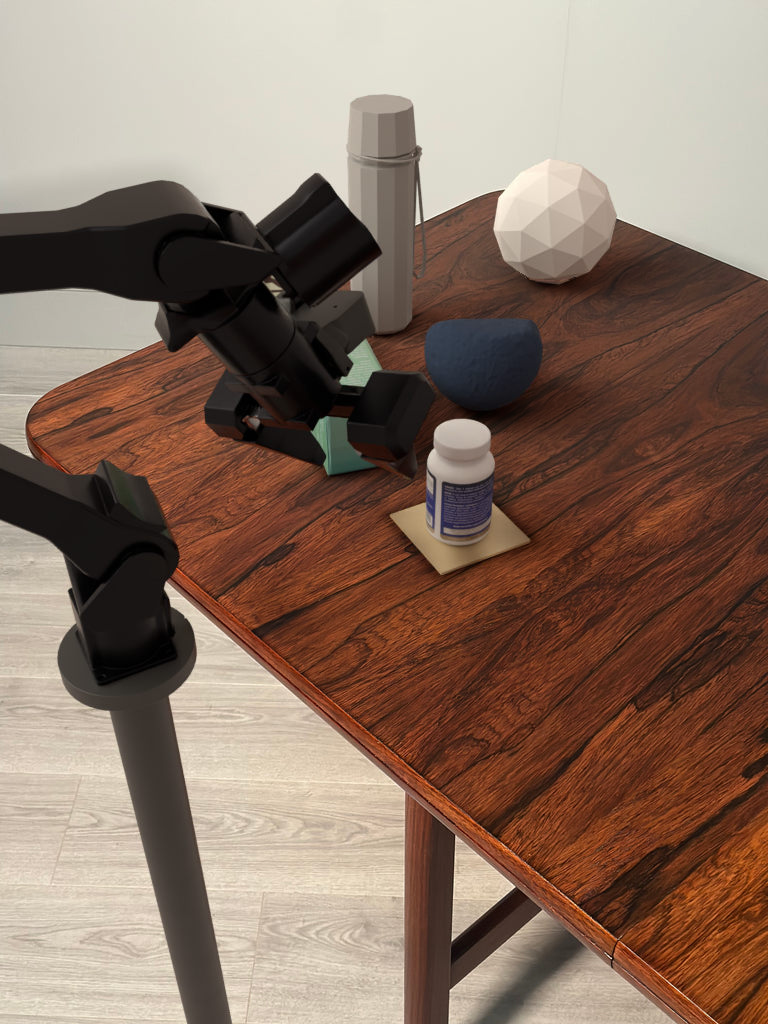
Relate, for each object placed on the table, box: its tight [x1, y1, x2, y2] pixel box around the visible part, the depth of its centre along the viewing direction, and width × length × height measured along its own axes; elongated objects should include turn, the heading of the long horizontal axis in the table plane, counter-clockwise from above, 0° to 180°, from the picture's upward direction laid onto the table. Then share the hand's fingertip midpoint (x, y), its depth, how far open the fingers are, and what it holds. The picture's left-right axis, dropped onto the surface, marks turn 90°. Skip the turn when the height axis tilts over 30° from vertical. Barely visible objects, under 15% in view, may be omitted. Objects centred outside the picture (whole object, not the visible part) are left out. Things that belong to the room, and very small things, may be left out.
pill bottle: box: [425, 418, 496, 546], centre depth 89 cm, size 6×6×10 cm
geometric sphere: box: [493, 158, 618, 285], centre depth 128 cm, size 14×15×15 cm
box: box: [311, 338, 384, 476], centre depth 101 cm, size 7×14×8 cm, turn 16°
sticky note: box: [389, 501, 532, 576], centre depth 92 cm, size 9×9×1 cm
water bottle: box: [345, 93, 428, 336], centre depth 115 cm, size 9×8×25 cm
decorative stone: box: [423, 317, 544, 412], centre depth 105 cm, size 12×12×10 cm
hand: (366, 467), depth 83 cm, fingers open, 9 cm apart
